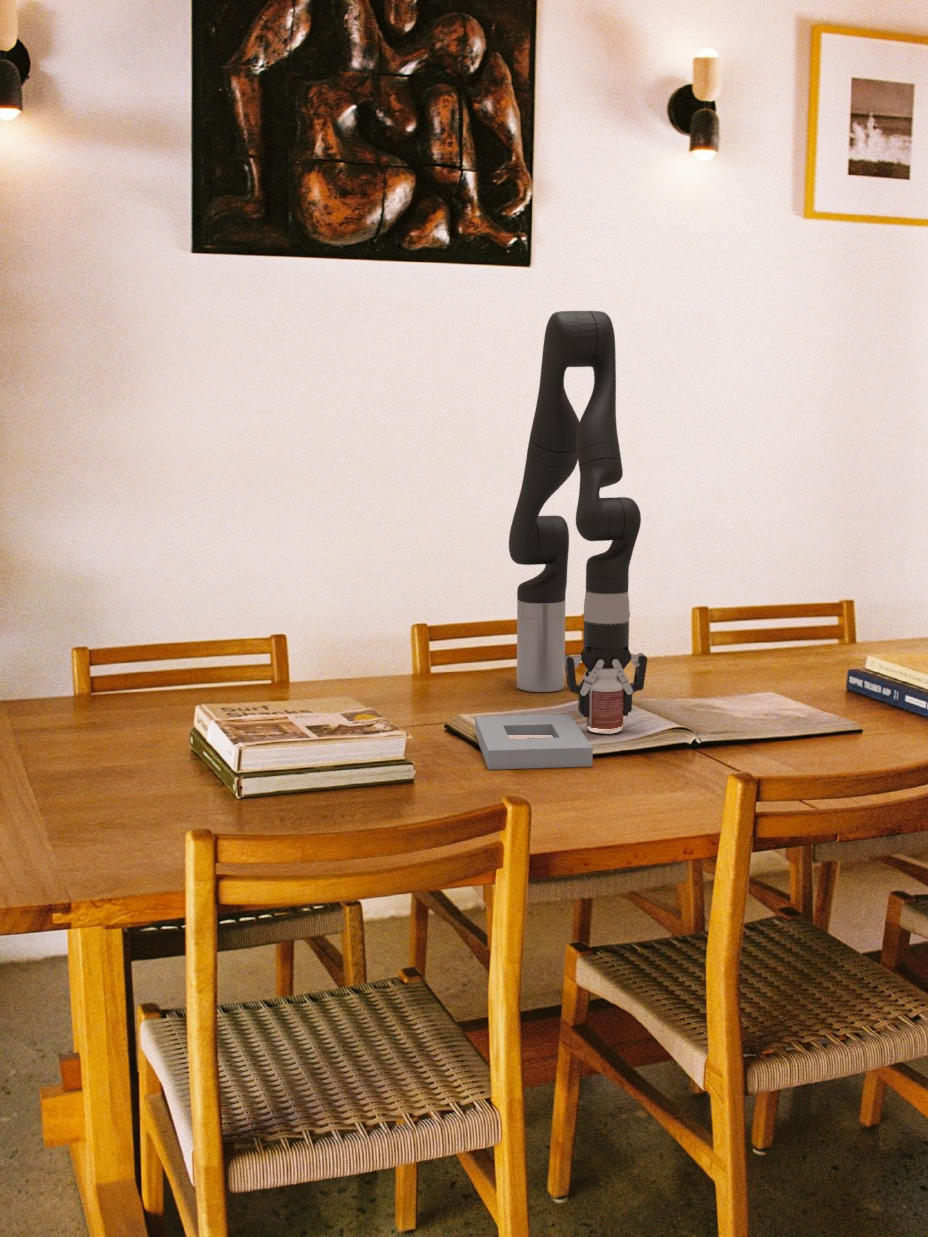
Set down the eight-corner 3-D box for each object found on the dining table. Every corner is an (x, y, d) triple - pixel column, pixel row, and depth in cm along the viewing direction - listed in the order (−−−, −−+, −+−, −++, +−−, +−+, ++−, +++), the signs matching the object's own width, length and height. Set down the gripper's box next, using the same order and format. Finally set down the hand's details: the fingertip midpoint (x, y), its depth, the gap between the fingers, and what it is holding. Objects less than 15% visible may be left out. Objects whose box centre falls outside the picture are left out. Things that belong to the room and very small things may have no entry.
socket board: (475, 734, 210) (475, 716, 209) (569, 731, 211) (569, 714, 210) (488, 769, 190) (488, 750, 189) (592, 766, 191) (592, 747, 191)
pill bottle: (630, 732, 211) (632, 667, 209) (602, 737, 207) (603, 672, 205) (606, 724, 216) (608, 661, 214) (578, 729, 212) (579, 665, 210)
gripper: (643, 613, 212) (641, 709, 215) (559, 614, 211) (558, 711, 214) (654, 621, 205) (651, 720, 208) (567, 622, 204) (566, 722, 207)
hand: (604, 715), depth 211 cm, fingers closed on pill bottle, 6 cm apart
